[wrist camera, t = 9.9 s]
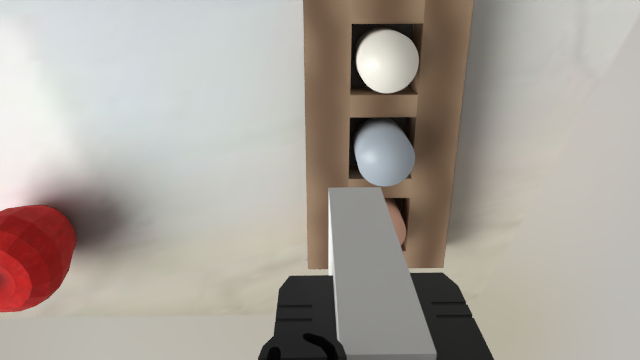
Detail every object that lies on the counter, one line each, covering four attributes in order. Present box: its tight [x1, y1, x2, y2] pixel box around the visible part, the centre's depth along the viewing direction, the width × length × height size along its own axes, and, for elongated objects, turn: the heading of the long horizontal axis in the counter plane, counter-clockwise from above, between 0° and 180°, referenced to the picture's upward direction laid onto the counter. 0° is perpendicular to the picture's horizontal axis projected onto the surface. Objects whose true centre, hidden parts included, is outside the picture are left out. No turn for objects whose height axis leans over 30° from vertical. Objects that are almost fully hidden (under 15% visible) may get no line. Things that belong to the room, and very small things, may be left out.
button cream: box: [354, 27, 419, 93], centre depth 40 cm, size 5×5×5 cm
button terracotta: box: [384, 198, 406, 246], centre depth 46 cm, size 5×5×5 cm
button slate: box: [353, 117, 415, 186], centre depth 42 cm, size 5×5×5 cm
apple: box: [0, 205, 77, 312], centre depth 45 cm, size 10×10×11 cm
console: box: [303, 0, 474, 269], centre depth 44 cm, size 14×26×4 cm, turn 0°
